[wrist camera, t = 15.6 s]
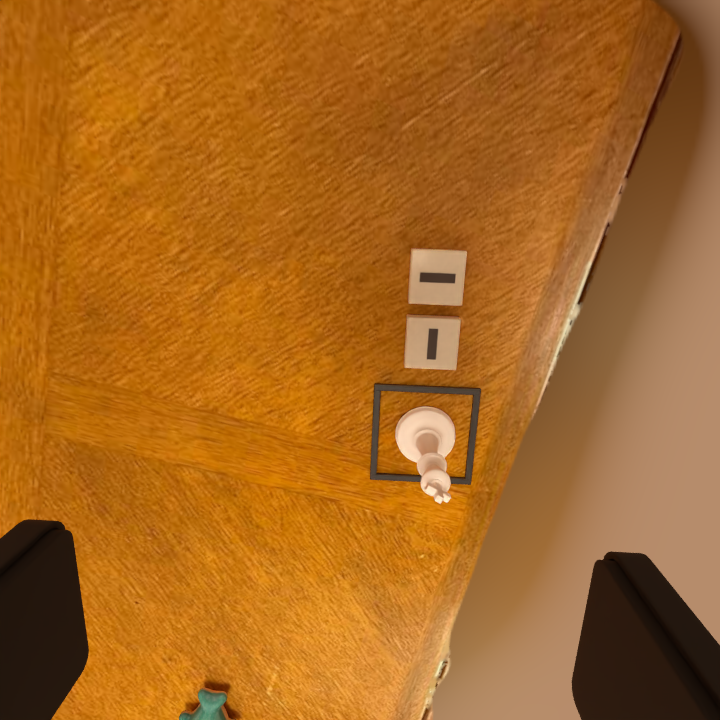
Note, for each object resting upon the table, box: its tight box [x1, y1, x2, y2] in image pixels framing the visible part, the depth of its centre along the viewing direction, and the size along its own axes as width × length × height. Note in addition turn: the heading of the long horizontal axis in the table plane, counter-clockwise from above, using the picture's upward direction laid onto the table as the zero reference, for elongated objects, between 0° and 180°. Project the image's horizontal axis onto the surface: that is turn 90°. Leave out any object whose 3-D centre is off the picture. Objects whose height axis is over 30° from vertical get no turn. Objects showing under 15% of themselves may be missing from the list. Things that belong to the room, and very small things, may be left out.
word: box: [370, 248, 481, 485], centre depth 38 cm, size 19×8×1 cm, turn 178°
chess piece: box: [395, 406, 455, 504], centre depth 36 cm, size 5×5×10 cm
